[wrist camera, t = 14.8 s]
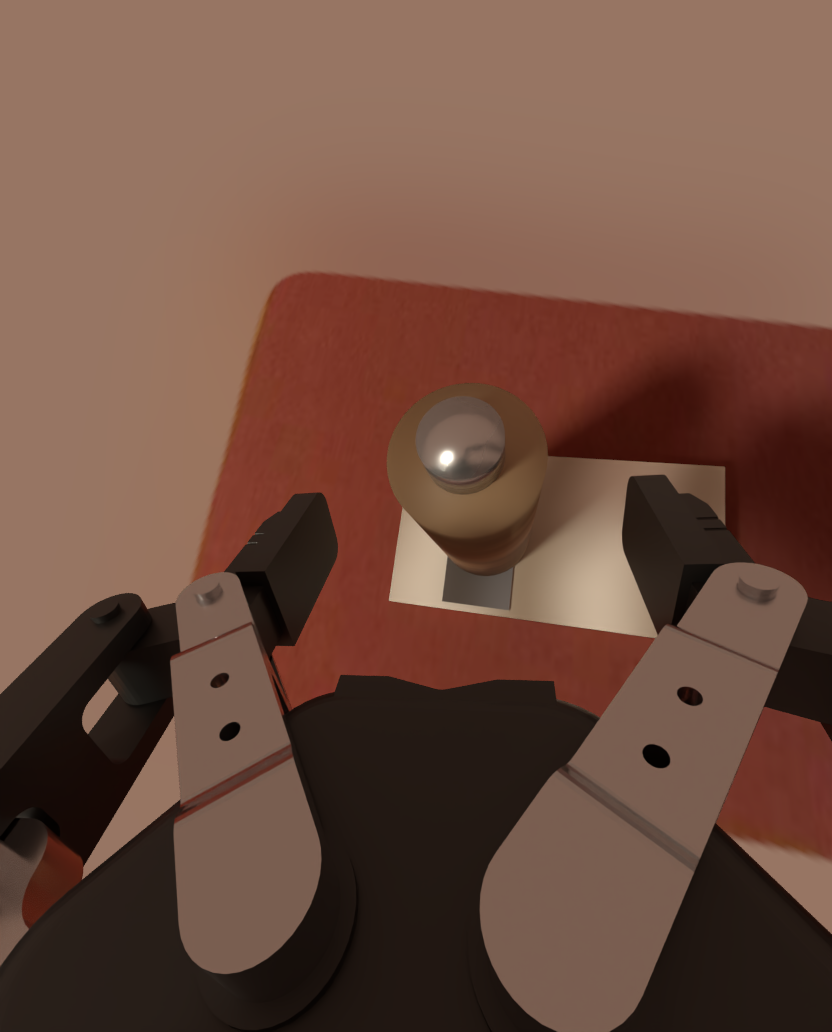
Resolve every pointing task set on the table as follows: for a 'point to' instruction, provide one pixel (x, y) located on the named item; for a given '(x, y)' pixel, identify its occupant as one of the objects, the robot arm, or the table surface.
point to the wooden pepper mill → (471, 473)
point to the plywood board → (556, 552)
